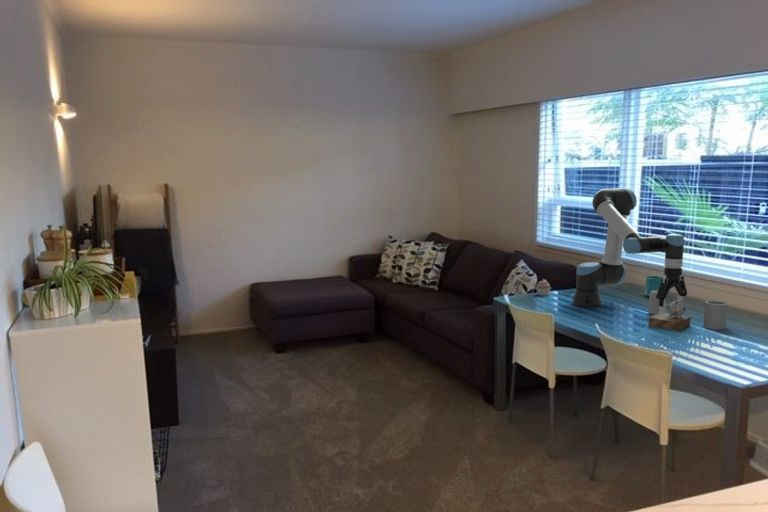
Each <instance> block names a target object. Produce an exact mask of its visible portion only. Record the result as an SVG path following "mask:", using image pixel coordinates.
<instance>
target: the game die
mask: <svg viewBox="0 0 768 512" xmlns="http://www.w3.org/2000/svg"><path fill="white" fill-rule="evenodd" d="M682 302H683V301H682ZM682 302H679V301H677V300H672V299H670V302H669V305H668V306H666V310H668V313H669V314H670V317H671V316H683V314H684V313H685V312H686V311H687V308H686V307H684V302H683V303H682ZM681 318H682V317H681Z"/></svg>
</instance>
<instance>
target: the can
mask: <svg viewBox="0 0 768 512" xmlns="http://www.w3.org/2000/svg"><path fill="white" fill-rule="evenodd" d="M657 293H658V290H653V291H651V293H650V295H649V297H648V298H649V299H648V300H649V301H648V313H649V314H650V315H655V314H657V313H659V299H657V298H656V296H657ZM664 300H666V298H665V299H664Z"/></svg>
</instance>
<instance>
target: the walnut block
mask: <svg viewBox="0 0 768 512" xmlns="http://www.w3.org/2000/svg"><path fill="white" fill-rule="evenodd" d="M681 317H682V318H681ZM689 326H691V316H687V315H682V316H671V317H670V312H665V314H663V313H657V314H655V315H654V314H652V315H651V316H649V317H648V327H653V328H658V329H664V330H668V331H672V332H673V331H675V332H681V331H683V330H685V329H687V328H688V327H689Z"/></svg>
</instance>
